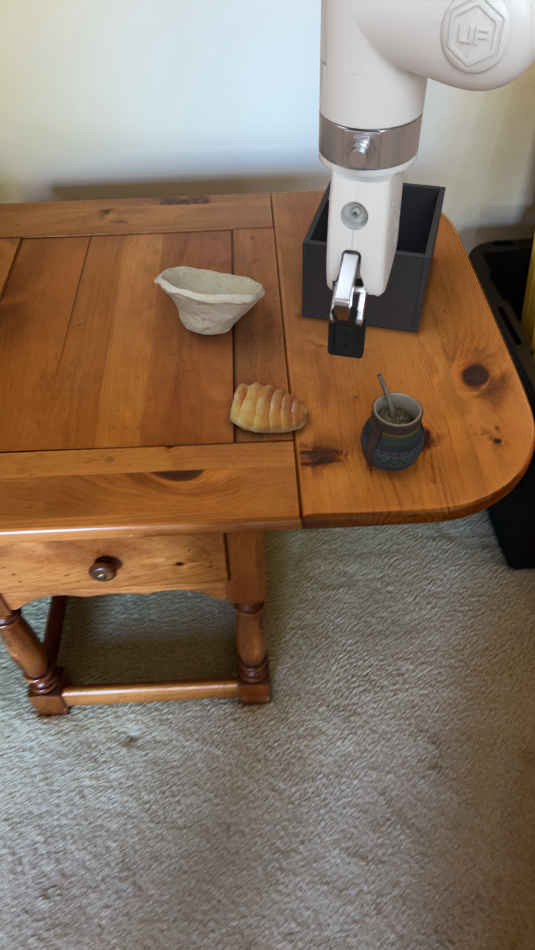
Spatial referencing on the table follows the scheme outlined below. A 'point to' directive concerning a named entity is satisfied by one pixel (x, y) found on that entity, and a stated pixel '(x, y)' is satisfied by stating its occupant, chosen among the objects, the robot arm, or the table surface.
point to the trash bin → (407, 272)
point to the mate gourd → (393, 431)
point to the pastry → (267, 409)
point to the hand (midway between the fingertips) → (355, 321)
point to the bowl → (209, 297)
